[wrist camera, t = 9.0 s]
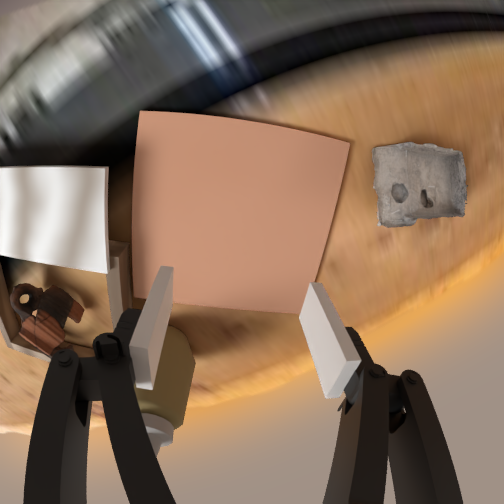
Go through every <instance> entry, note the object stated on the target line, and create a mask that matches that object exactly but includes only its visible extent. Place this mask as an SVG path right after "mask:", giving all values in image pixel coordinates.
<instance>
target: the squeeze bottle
mask: <svg viewBox="0 0 504 504" xmlns="http://www.w3.org/2000/svg"><path fill="white" fill-rule="evenodd" d="M195 364H196V363H195V360H194V357H193V354H192V351H191V348H190V345H189V343H188V340H187V337H186V336H185V335H184V334H183V333H182V332H181V331H180V330H178V329H176V328H175V327H173V326H167V330H166V334H165V338H164V342H163V346H162V350H161V355H160V359H159V363H158V368H157V372H156V377H155V382H154V386H153V390H148V389H143V388H137V387H136V382H135V384H134V389H135V393H136V397H137V400H138V404H139V407H140V411H141V414H142V417H143V420H144V424H145V427H146V430H147V433H148V436H149V439H150V442H151V444H152V447H153V450H154V453H155V455H156V457H157V454H158V452H159V449H160V447H162V446H167V445H169V444H171V443H172V441H173V431H174V430H175V429H177V428H178V427H180V426H181V425H182V424H183V420H184V416H185V411H186V406H187V401H188V396H189V391H190V387H191V382H192V377H193V373H194V368H195Z"/></svg>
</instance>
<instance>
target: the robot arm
mask: <svg viewBox="0 0 504 504" xmlns="http://www.w3.org/2000/svg"><path fill="white" fill-rule="evenodd" d="M173 272H174V267H169V266H160V269H159V271H158V273H157V276H156V278H155V280H154V283H153V285H152V287H151V290H150V292H149V295H148V297H147V300H146V302H145V305H144V307H143V310H138V309H132V308H128V309H127V310H125V311H124V312H123V313H122V314H121V316H120V318H119V321H118V323H117V325H116V328H115V329H114V332H113V333H103V334H100V335H99V336H97V337H96V338H95V339H94V341H93V349H94V353H95V356H93V357H78V355H77V353H76V352H74V351H73V350H70V349H62V350H59V351H57V352H56V353H55V354H54V355H53V356H52V358H51V361H50V364H49V367H48V371H47V374H46V377H45V381H44V384H43V388H42V391H41V395H40V399H39V403H38V407H37V411H36V415H35V420H34V424H33V429H32V434H31V440H30V445H29V452H28V459H27V466H26V475H25V486H24V503H23V504H86V503H87V500H86V475H87V474H86V472H87V451H88V436H89V426H90V416H91V408H92V401H102V403H103V408H104V413H105V418H106V423H107V428H108V432H109V436H110V441H111V444H112V449H113V452H114V456H115V460H116V463H117V466H118V470H119V473H120V476H121V480H122V483H123V485H124V489H125V491H126V494H127V497H128V500H129V503H130V504H176V502H175V500H174V498H173V496H172V494H171V492H170V490H169V487H168V485H167V483H166V480H165V478H164V475H163V473H162V471H161V468H160V466H159V463H158V461H157V458H156V455H155V453H154V450H153V447H152V444H151V442H150V439H149V436H148V433H147V430H146V427H145V424H144V420H143V417H142V414H141V411H140V407H139V404H138V400H137V397H136V393H135V389H134V384H135V382H136V387H137V388H143V389H148V390H153V386H154V382H155V377H156V372H157V368H158V363H159V359H160V355H161V350H162V346H163V342H164V338H165V334H166V330H167V326H168V322H169V318H170V314H171V310H172V306H173ZM299 319H300V322H301V325H302V328H303V331H304V334H305V337H306V340H307V343H308V346H309V349H310V352H311V355H312V358H313V361H314V364H315V367H316V370H317V373H318V377H319V380H320V382H321V386H322V389H323V392H324V395H325V398H338V397H340V396H341V394H342V392H343V391H345V394H346V397H345V399H344V400H343V402H342V403H341V405H340V407H339V408H338V411H340V410H341V408H342V413H341V420H340V426H339V431H338V437H337V443H336V448H335V453H334V458H333V462H332V467H331V472H330V476H329V480H328V484H327V489H326V493H325V496H324V500H323V504H383V502H384V494H385V485H386V474H387V461H388V457H389V462H390V467H391V473H392V479H393V485H394V491H395V498H396V504H463V500H462V496H461V492H460V488H459V484H458V480H457V476H456V472H455V469H454V465H453V462H452V459H451V455H450V452H449V449H448V446H447V443H446V440H445V437H444V434H443V431H442V428H441V425H440V423H439V420H438V417H437V415H436V412H435V409H434V407H433V404H432V401H431V399H430V396H429V394H428V391H427V389H426V386H425V384H424V382H423V379H422V378H421V376H420V375H419V374H418V373H417V372H415V371H413V370H405V371H403V372H402V374H401V375H400V376H396V375H390V374H387V371H386V370H385V369H384V368H383V367H382V366H380V365H378V364H374V362H373V360H372V358H371V357H370V355H369V353H368V351H367V349H366V347H365V346H364V343H363V342H362V341H361V338H360V336H359V334H358V333H357V332H356V331H355V330H354V329H353V328H352V327H344V325H343V323H342V321H341V319H340V317H339V315H338V313H337V311H336V309H335V307H334V305H333V303H332V302H331V300H330V298H329V296H328V294H327V292H326V290H325V288H324V287H323V285H322V283H316V282H310V284H309V287H308V291H307V294H306V297H305V300H304V304H303V307H302V310H301V313H300V316H299ZM404 408H405V411H406V413H405V412H404Z"/></svg>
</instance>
